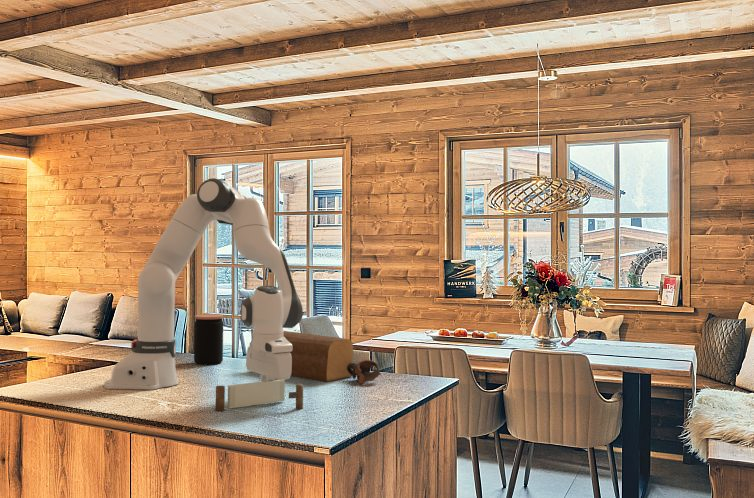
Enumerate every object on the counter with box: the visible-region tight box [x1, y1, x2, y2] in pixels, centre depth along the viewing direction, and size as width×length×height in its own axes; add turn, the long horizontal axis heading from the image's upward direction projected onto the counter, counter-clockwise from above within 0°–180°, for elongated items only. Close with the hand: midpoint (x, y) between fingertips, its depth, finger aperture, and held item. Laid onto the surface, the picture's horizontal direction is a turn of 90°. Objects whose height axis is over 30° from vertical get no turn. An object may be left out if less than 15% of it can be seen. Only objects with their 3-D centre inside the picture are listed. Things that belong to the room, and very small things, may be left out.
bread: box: [283, 330, 354, 382], centre depth 248 cm, size 14×34×14 cm, turn 52°
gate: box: [227, 379, 286, 409], centre depth 198 cm, size 17×1×6 cm, turn 126°
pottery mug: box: [347, 359, 381, 385], centre depth 235 cm, size 12×10×8 cm
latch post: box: [288, 383, 304, 410], centre depth 195 cm, size 4×3×6 cm, turn 100°
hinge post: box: [214, 385, 226, 412], centre depth 191 cm, size 2×2×6 cm
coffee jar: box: [193, 313, 224, 366], centre depth 266 cm, size 11×11×18 cm
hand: (267, 390), depth 203 cm, fingers closed
